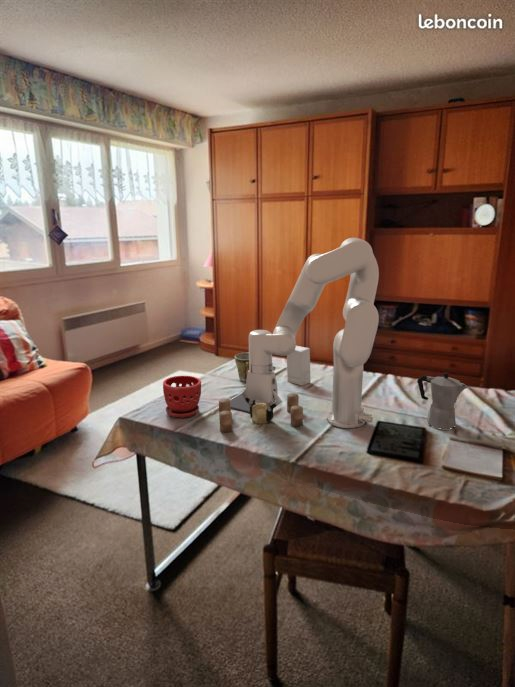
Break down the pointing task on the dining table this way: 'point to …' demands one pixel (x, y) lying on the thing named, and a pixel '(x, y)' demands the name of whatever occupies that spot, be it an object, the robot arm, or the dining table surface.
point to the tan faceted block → (259, 413)
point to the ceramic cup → (242, 365)
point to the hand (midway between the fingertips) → (261, 417)
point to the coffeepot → (442, 399)
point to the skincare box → (299, 366)
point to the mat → (241, 403)
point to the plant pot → (182, 395)
